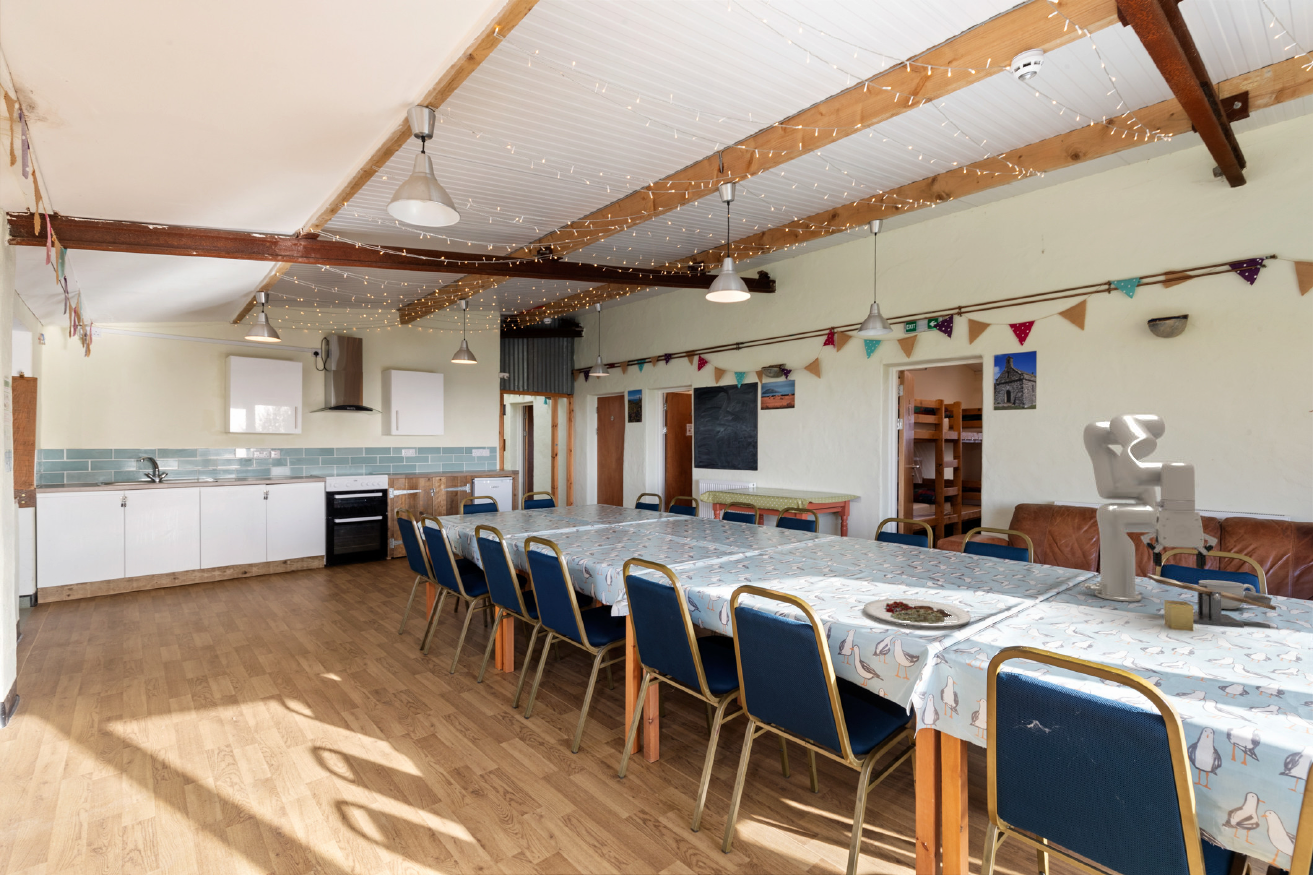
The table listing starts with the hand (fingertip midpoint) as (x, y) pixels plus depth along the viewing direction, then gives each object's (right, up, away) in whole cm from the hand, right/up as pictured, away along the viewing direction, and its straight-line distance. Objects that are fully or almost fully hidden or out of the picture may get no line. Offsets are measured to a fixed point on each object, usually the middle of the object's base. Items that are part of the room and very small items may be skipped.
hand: (1179, 567), depth 181 cm
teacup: (+33, -17, +21) cm, 43 cm away
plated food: (-69, -18, +13) cm, 72 cm away
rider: (0, -17, 0) cm, 17 cm away
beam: (+14, -9, +7) cm, 18 cm away
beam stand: (+14, -17, +7) cm, 23 cm away
